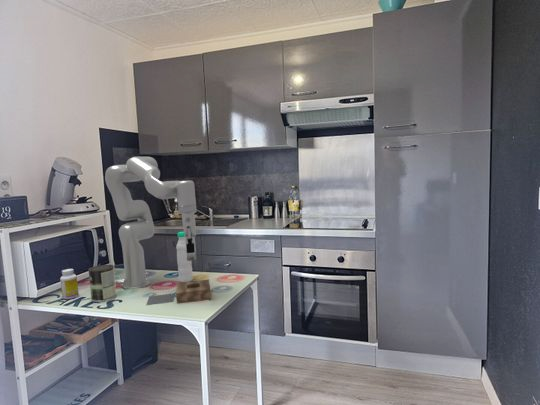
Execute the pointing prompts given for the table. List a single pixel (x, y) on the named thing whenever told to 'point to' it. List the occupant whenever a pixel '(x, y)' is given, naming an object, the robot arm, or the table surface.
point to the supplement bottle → (69, 284)
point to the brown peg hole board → (193, 291)
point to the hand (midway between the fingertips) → (190, 251)
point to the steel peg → (191, 255)
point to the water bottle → (183, 260)
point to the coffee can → (102, 283)
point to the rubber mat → (160, 299)
